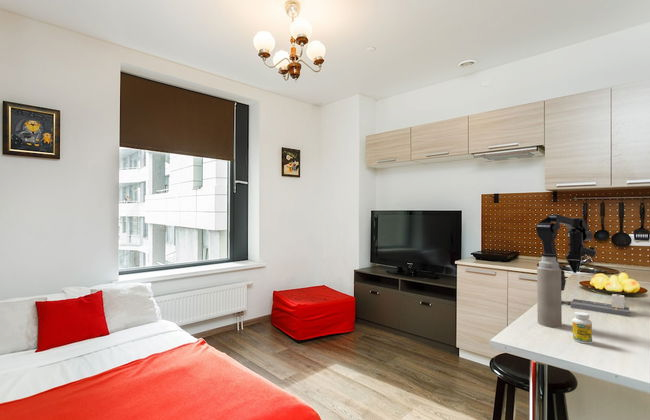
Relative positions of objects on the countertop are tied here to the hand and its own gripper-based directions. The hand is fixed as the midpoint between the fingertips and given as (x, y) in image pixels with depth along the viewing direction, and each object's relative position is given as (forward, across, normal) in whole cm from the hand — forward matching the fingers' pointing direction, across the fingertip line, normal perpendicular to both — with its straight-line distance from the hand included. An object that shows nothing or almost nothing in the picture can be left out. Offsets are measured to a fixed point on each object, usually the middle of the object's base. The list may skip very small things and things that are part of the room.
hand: (576, 271), depth 174 cm
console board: (+13, -21, -11) cm, 27 cm away
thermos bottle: (+13, -59, +2) cm, 60 cm away
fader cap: (+11, -21, -17) cm, 29 cm away
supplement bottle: (+13, -71, -10) cm, 73 cm away
